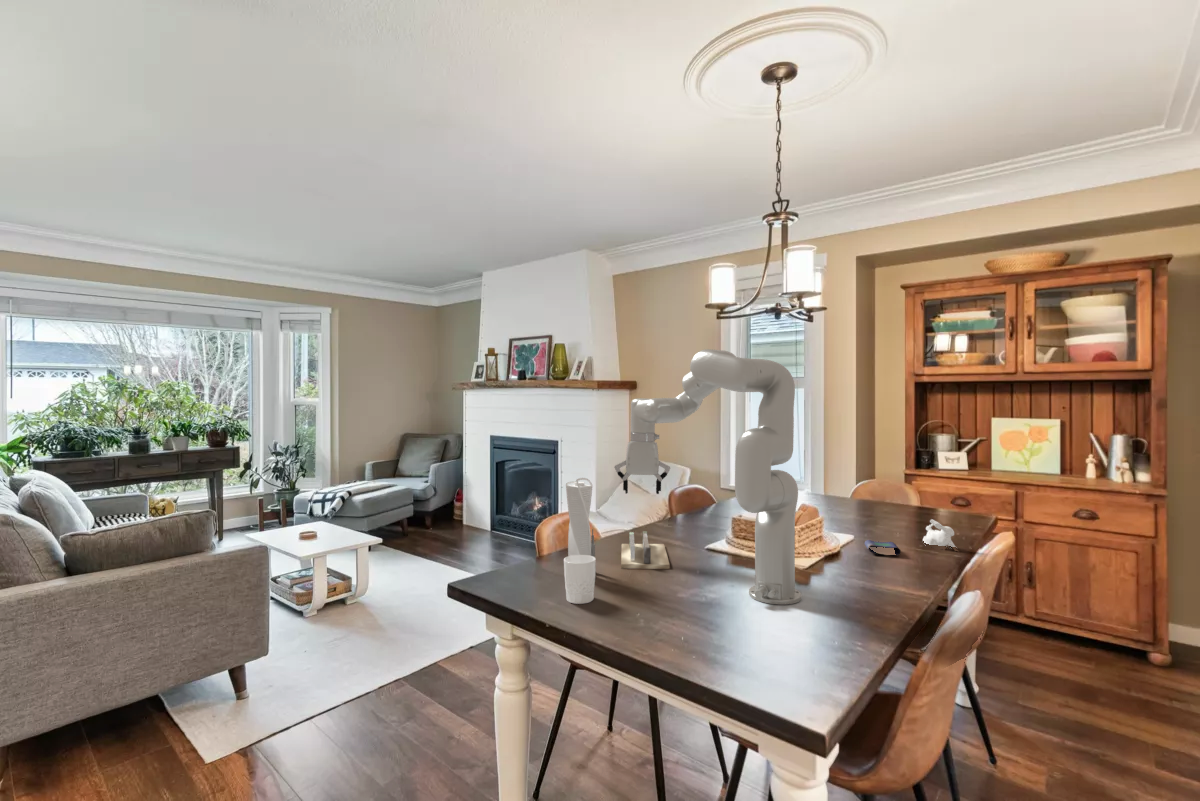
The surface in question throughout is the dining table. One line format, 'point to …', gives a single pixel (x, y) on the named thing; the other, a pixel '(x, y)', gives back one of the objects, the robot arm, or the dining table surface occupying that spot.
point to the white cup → (579, 578)
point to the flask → (882, 544)
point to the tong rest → (645, 556)
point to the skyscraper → (580, 519)
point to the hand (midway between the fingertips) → (641, 493)
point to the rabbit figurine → (939, 535)
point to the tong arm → (632, 546)
